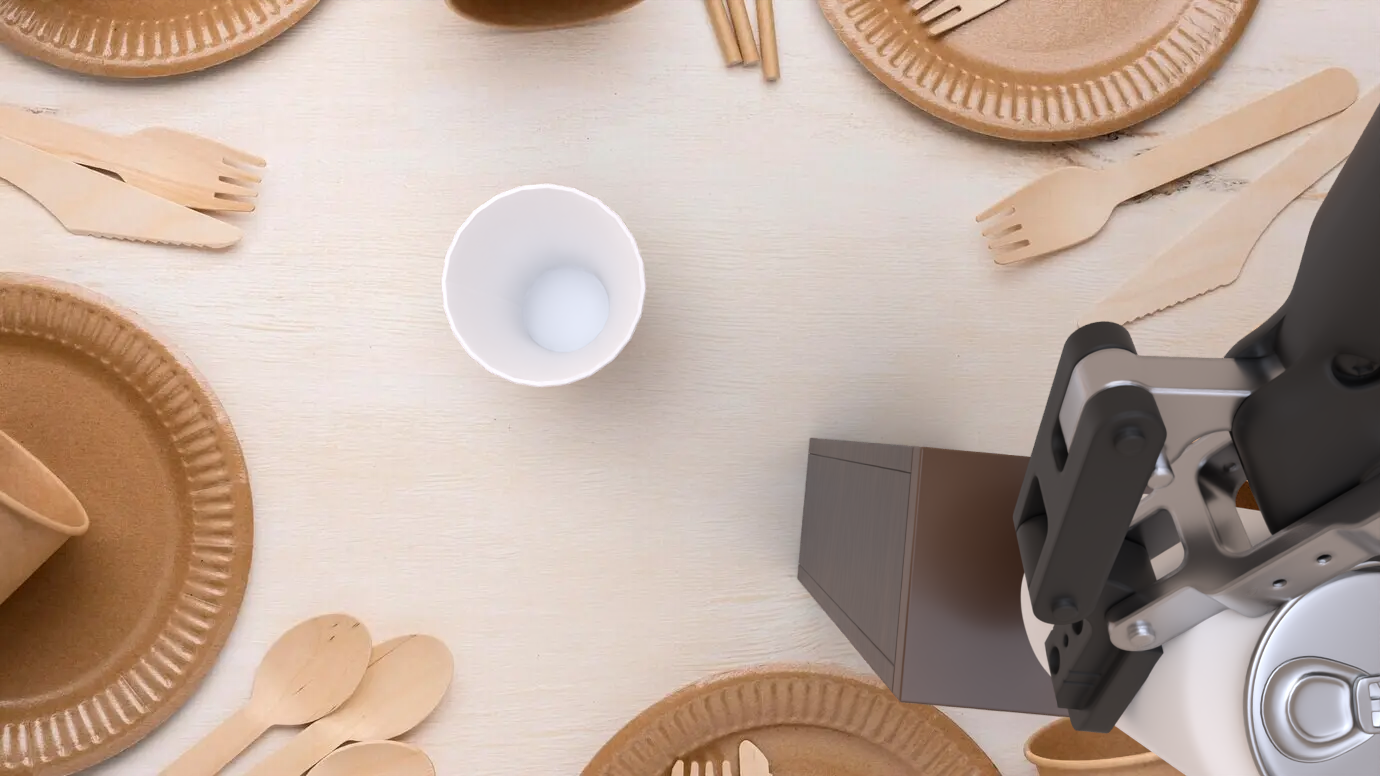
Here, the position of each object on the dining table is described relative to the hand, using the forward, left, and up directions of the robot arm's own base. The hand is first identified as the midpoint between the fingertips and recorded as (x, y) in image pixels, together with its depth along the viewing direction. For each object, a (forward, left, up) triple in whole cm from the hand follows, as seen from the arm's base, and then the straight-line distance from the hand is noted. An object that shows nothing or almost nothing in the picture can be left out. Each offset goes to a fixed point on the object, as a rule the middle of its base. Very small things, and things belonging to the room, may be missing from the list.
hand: (1227, 710), depth 25 cm
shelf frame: (0, -1, -42) cm, 42 cm away
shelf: (0, -1, -12) cm, 12 cm away
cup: (+21, -12, -42) cm, 49 cm away
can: (0, -2, -6) cm, 7 cm away
